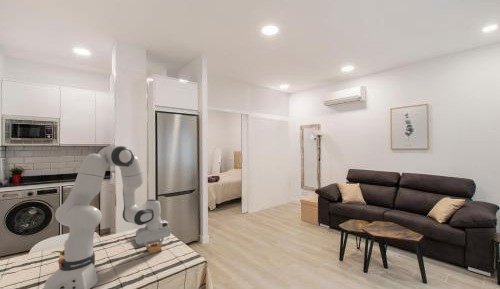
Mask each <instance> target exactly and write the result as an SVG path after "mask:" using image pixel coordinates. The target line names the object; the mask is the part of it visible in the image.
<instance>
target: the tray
mask: <svg viewBox="0 0 500 289" xmlns="http://www.w3.org/2000/svg"><path fill="white" fill-rule="evenodd" d="M133 238H134V242H135V244H136V246H137V247H138V248H143V247H144V248H145V247H146V246H145V244H144V243H143V244H137V243H136V236H135V237H133ZM160 241H161V239H157V240H154V241H150V242H147V244H146V245H148V244H152V243H156V242H158V243H159V242H160Z"/></svg>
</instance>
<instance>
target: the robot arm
mask: <svg viewBox="0 0 500 289" xmlns="http://www.w3.org/2000/svg"><path fill="white" fill-rule="evenodd" d="M141 165H142V164H141V161H140V159H139V157H138V156H136V155H134V154H133V152H132V150H131V148H129V147H127V146H122V145H120V146H119V145H109V146H103V147H100V148H99V149H98V150H97V152H96V153H89V154H87V155H86V157H85V158H84V159H83V161H82V163H81V165H80V167H79V169H78V172H77V176H76V179H75V181H74V184H73V187H72V188H71V191H70V192H69V194H68V196H67V197H66V199H65V201H64V202H63V203H62V204H61V205H59V206H58V207H57V209H56V211H55V213H54V217H55V220H56V221H57V222H58V223H60V224H61V225H62V226H65V227H68V228H69V233H68V237H67V239H66V240H65V241H64V243H63V245H64V247H63V248H64V249H63V251H64V258H63V257H61V258H59V259H58V261H57V263H58V269H57V270H56V271H55V272H54V273H52V274H51V275H50V276H49V277H47V279H46V281H45V283H44V284H43V288H42V289H91V288H93V287H94V286H95V285H96V284H98V282H99V277H98V274H97V271H96V267H95V266H96V265H95V263H96V254H95V253H96V252H95V251H94V236H95V235H94V234H95V232H96V231H95V230H96V228H97V227H98V226H99V225H100V223H101V221H102V220H103V219H102V217H103V214H102V212H101V210H100V209H99V208H97V207H95V206H94V205H91V203H92V201H93V199H94V198H95V197H96V196H98V195H99V193H100V192H101V188H102V185H103V182H104V178H105V175H106V171H107V170H108V168H109V167H110V166H111V167H118V168H119V170H120V173H121V181H122V196H123V210H122V219H123V220H124V221H125V222H127V223H131V224H134V225H137V226H142V227H140V228H138V229H136V230H135V237H136V242H135V244H136V243H137V244H143V243H144V244H145V246H144V247H145V249H146V250H147V249H149V245H146V244H147V242H150V241H154V240H157V239H160V242H158V243H159V244H160V245H161V246H162V245H163V242H164V239H165V238H168V237H170V236H171V235H172V234H171V233H172V232H171V227H170V226H169V225H170V223H169V221H167V220H164V219H162V218H161V213H162V210H161V209H162V208H161V207H162V206H161V202H160V200H158V199H154V198H152V199H151V198H150V199H147V200H146V201H145V203H143V204H142V205H141V206H138V205H137V204H136V193H135V192H136V190H137V189H138V188H140V187H141V186H142V184H143V183H144V174H143V168H142V166H141ZM144 225H145V226H144ZM143 226H144V227H143ZM137 244H136V245H137Z"/></svg>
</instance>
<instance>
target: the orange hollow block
mask: <svg viewBox="0 0 500 289" xmlns="http://www.w3.org/2000/svg"><path fill="white" fill-rule="evenodd" d="M154 244H155V245H156V246H154V247H153V243H152V244H148V245H149V249H146V250H147V251H148V252H149V254H152V253H155V252H160V251H162V245H160V244H159V242H156V243H154Z"/></svg>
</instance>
